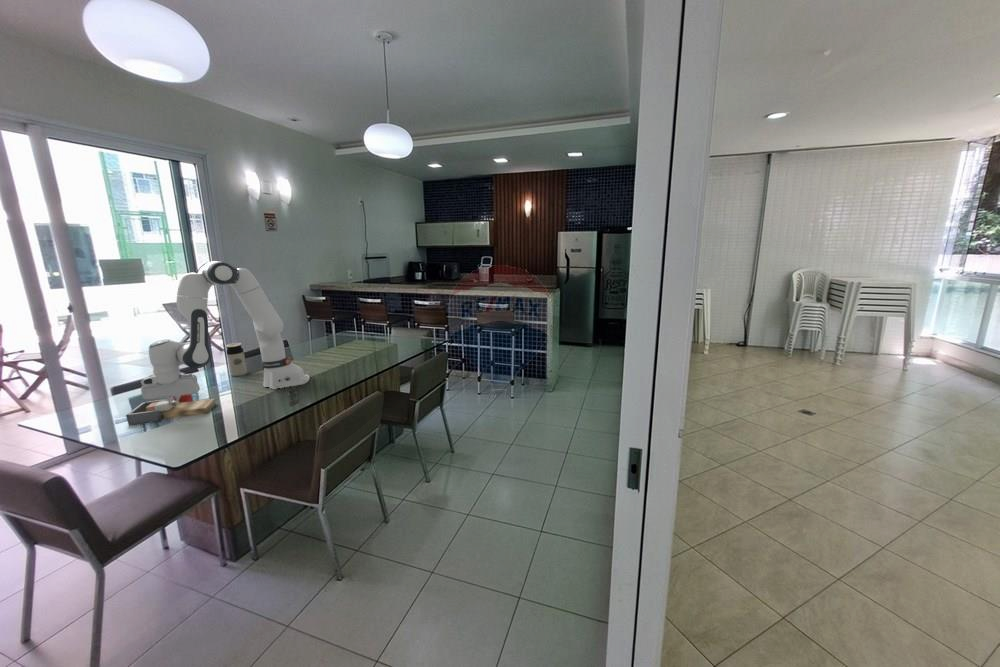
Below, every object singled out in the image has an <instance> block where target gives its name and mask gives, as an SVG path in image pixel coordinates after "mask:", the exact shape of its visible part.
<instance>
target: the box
mask: <svg viewBox="0 0 1000 667" xmlns="http://www.w3.org/2000/svg"><path fill="white" fill-rule="evenodd" d="M172 400H173V401H174V399H173V398H172ZM161 401H167V400H166V399H165V398H163V399H157V400H149V401H143V402H141V403H140V404H139V405H137V406H136V407H135V408H133V409H132V410H130V411H129V412H128V413H126V414H125V417H126V422H127V425H128V426H129V427H130V426H138V425H144V424H153V423H159V422H162V421H163V420H164V417H163V414H162V413H164V412H165V411H163V412H161V413H160V411H159V410H155V411H147V410H146V407H147V406H149V405H150V404H151V403H155V402H161Z"/></svg>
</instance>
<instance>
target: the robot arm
mask: <svg viewBox="0 0 1000 667" xmlns="http://www.w3.org/2000/svg"><path fill="white" fill-rule="evenodd" d="M178 284H179V285H178V287H177V291H176V294H177V295H176V308H177V311H178V313H180V315H181V316H182V317H183V318H185V319H186V321H187V323H188V326H189V342H179V341H173V340H170V339H168V338H167V339H161V340H157V341H154V342H153V343H151V344H150V345H149V346H148V357H149V361H150V365H151V366H152V374H150V375H148V376H146V377H144V378H142V379H141V380H140V383H141V387H140V391H141V396H142V399H143V400H145V401H147V400H155V399H157V400H158V399H162V398H163V399H166V400H167V401H168V402H169V403H170V406H174V405H179V399H180V397H181V396H182V395H190V394H191V395H196V394H197V393H199V392H200V390H201V389H200V388H201V387H200V384H199V382H198V377H197V375H196V374H193V373H187V374H188V375H185V374H184V375H181V373H182V372H181V370H180V366H182V365H185V366H187V367H189V368H191V369H201V368H204V367H206V366H207V365H208V364H209V363H210V361H211V360H212V352H211V350H210V347H209V341H208V340H209V323H208V322H209V319H208V303H209V302H208V301H209V300H208V299H209V292H210V289H211V288H212V287H213V286H223V285H229V286H230V287H231V288H232V289H233V290H234V292H235V294H236V295H237V298H238V299H239V301H240V302H241V305H242V306H243V308H244V309H245V311H246V312H247V313H248V315H249V316H250V318H251V319H252V322H253V329H254V332H255V335H256V338H257V342H258V345H259V351H260V356H261V368H262V371H263V383H262V386H264V387H263V388H265V387H269V388H268V389H271V388H272V389H271V390H278V389H277V388H280V389H285V388H290V386H291V387H296V386H300V385H302V386H303V385H305V384H306V383H308V382H309V381H310V378H311V377H310V375H309V374H306V373H305V372H304V369H303V368H302V367H301V366H299V365H297V364H295V363H292V361H291V357H288V356H286V352H285V344H284V341H283V338H282V336H281V333H282V332H283V330H284V323H283V322H284V321H283V320H282V319H281V317H280V315H279V314H278V312H277V311H276V309H275V308H274V306H273V304H271V302H270V301H269V299H268V296H266V294H265V292H264V290H263V289H262V286H261V285H260V283H259V281H258V279H256V277H255V276H254V274H253V273H252V272H251V271H250V269H247V268H246V267H245V268H244V267H239V268H236V267H234V266H232V264H230V263H228V262H225V261H221V260H220V261H219V260H217V261H216V260H213V261H209V262H205V263H204V264H202V265H201V266H200V267H199V268H198V269H197V271H195V272H188V273H184V274H183V275H181V277H180V280H179V283H178ZM284 387H285V388H284ZM173 396H175V398H177V399H176V401H173V400H174V399H173V400H172V399H171V397H173Z"/></svg>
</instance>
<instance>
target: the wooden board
mask: <svg viewBox="0 0 1000 667" xmlns="http://www.w3.org/2000/svg"><path fill="white" fill-rule="evenodd" d="M216 404H217V402H216V399H215V398H208V399H200V400H199V399H198V400H193V401H190V402H182V403H179V405H175V406H174V407H172V408H171V409H170V410H167V411H165V412H164V413H162V414H163V417H164V419H163V420H170V419H179V418H185V417H186V418H187V417H194V416H195V417H196V416H201V415H202V416H203V415H207V414H209V413H210V411H211V410H212V409H213V408H214V407H215V405H216Z"/></svg>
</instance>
